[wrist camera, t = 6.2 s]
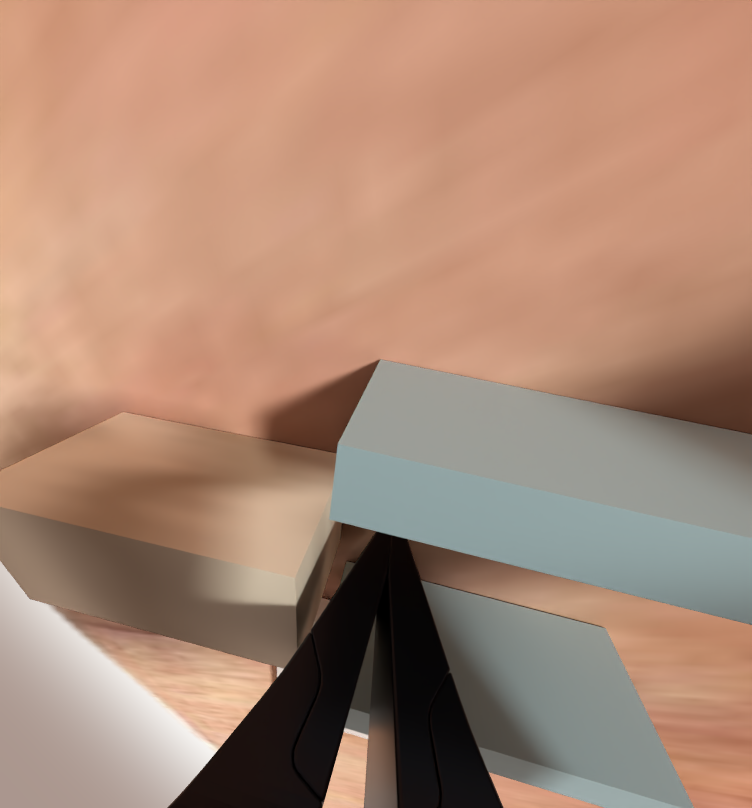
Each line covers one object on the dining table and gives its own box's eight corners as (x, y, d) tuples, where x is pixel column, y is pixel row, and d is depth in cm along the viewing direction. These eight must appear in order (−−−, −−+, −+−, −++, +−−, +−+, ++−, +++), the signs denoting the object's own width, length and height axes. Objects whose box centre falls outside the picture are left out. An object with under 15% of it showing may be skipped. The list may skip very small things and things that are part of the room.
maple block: (347, 455, 9) (294, 578, 5) (340, 539, 11) (297, 672, 7) (122, 412, 10) (-51, 494, 6) (151, 497, 12) (29, 598, 8)
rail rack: (792, 442, 7) (1209, 642, 3) (585, 647, 11) (659, 824, 8) (380, 359, 7) (337, 443, 4) (342, 583, 12) (307, 716, 8)
